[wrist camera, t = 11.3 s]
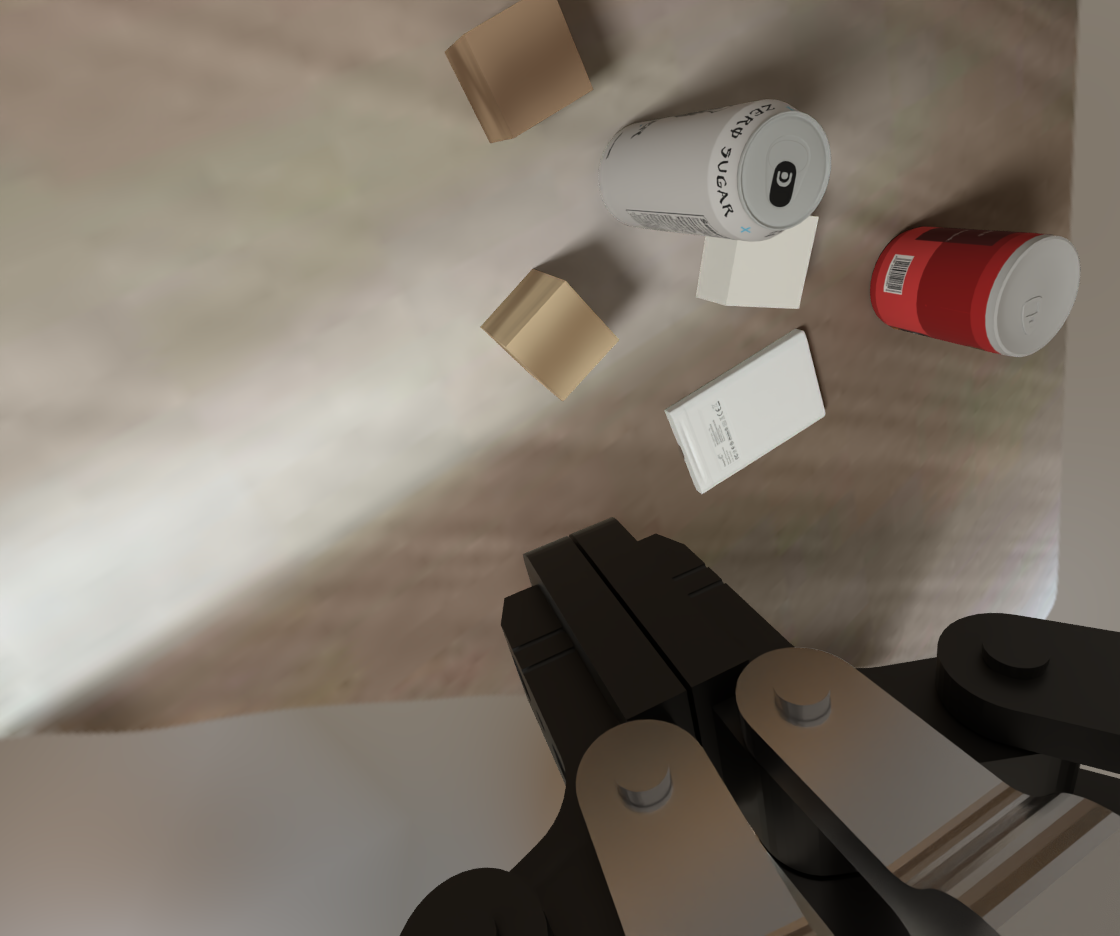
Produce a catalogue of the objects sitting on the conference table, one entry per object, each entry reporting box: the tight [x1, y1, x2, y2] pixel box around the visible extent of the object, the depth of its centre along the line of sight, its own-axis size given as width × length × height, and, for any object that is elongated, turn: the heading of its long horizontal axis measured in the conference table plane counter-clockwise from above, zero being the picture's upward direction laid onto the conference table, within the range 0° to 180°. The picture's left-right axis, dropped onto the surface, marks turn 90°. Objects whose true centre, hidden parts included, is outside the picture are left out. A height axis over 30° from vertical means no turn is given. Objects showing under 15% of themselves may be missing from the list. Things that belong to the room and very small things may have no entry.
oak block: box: [481, 269, 619, 401], centre depth 40 cm, size 5×5×6 cm
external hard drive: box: [665, 329, 825, 494], centre depth 51 cm, size 2×8×12 cm
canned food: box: [870, 227, 1081, 357], centre depth 47 cm, size 8×8×11 cm
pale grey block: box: [696, 216, 819, 309], centre depth 45 cm, size 6×6×4 cm
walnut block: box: [445, 0, 593, 143], centre depth 35 cm, size 5×5×5 cm
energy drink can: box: [598, 99, 831, 242], centre depth 35 cm, size 6×6×15 cm
